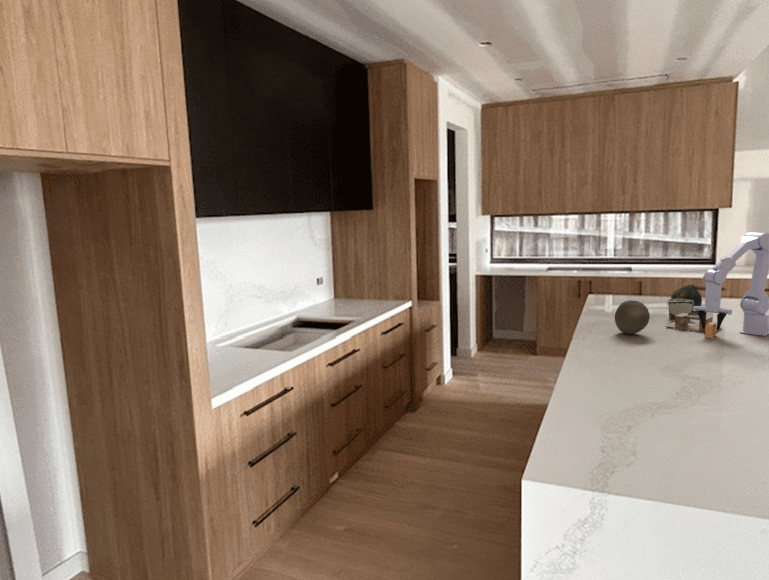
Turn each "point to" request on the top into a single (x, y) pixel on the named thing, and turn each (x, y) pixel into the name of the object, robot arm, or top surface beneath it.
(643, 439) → the top surface
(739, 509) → the top surface
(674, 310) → the food container
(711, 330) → the orange step-cut beam
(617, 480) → the top surface
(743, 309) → the robot arm
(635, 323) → the cantaloupe
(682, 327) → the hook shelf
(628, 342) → the top surface
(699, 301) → the squash
